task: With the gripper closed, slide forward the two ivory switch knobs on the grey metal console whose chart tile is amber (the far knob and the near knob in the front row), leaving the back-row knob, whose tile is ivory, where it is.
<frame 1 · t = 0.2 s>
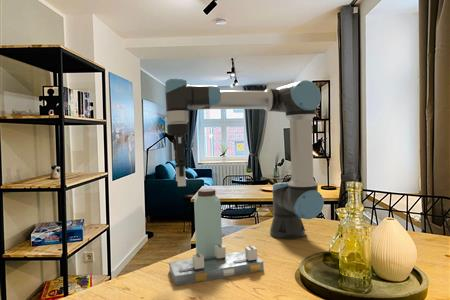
hand: (180, 183, 120), 28 cm above the table, fingers open, 13 cm apart
switch S3: (198, 260, 107), point 5 cm above the table, slide at 0.0 cm
water bottle: (209, 257, 125), on the table
switch S1: (251, 252, 112), point 5 cm above the table, slide at 0.0 cm
console: (216, 270, 112), on the table
switch S2: (220, 250, 115), point 5 cm above the table, slide at 0.0 cm
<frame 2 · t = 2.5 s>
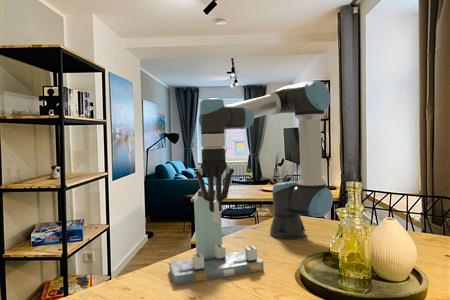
hand: (215, 221, 108), 17 cm above the table, fingers closed
nothing on the table moved.
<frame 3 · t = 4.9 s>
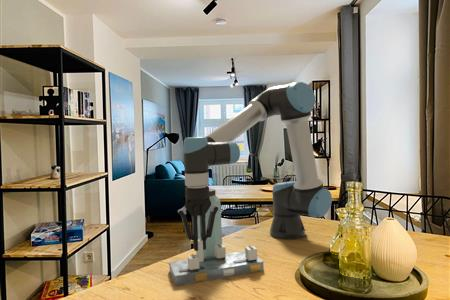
hand: (200, 260, 107), 6 cm above the table, fingers closed
switch S3: (193, 261, 106), point 5 cm above the table, slide at 1.6 cm, touching gripper
everything else where it was.
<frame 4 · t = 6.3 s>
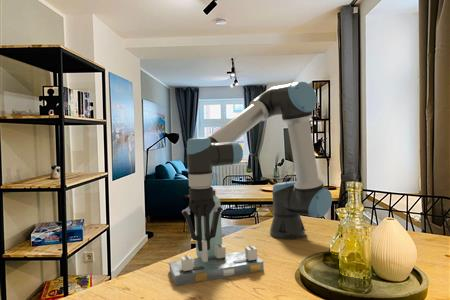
hand: (204, 260, 107), 5 cm above the table, fingers closed
switch S3: (186, 262, 106), point 5 cm above the table, slide at 3.7 cm
everything else where it was.
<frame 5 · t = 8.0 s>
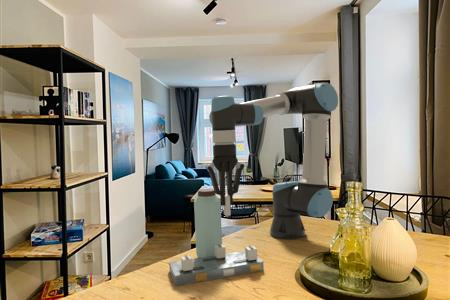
hand: (227, 214, 112), 18 cm above the table, fingers closed
nothing on the table moved.
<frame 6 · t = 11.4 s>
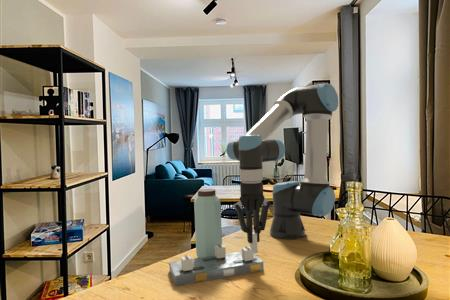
hand: (253, 251, 112), 6 cm above the table, fingers closed
switch S1: (247, 253, 112), point 5 cm above the table, slide at 1.3 cm, touching gripper
everything else where it was.
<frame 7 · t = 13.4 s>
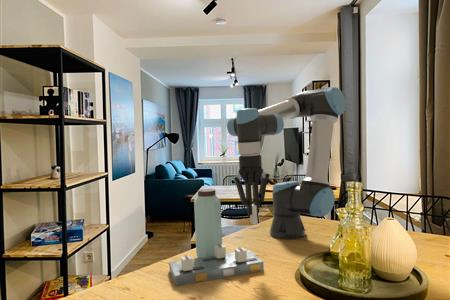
hand: (253, 223, 115), 14 cm above the table, fingers closed
switch S1: (240, 254, 111), point 5 cm above the table, slide at 3.7 cm
everything else where it was.
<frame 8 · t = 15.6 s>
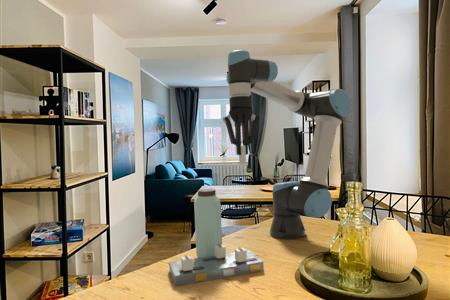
hand: (242, 164, 118), 34 cm above the table, fingers closed
nothing on the table moved.
at the end: switch S3 slide at 3.7 cm; switch S1 slide at 3.7 cm; switch S2 slide at 0.0 cm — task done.
